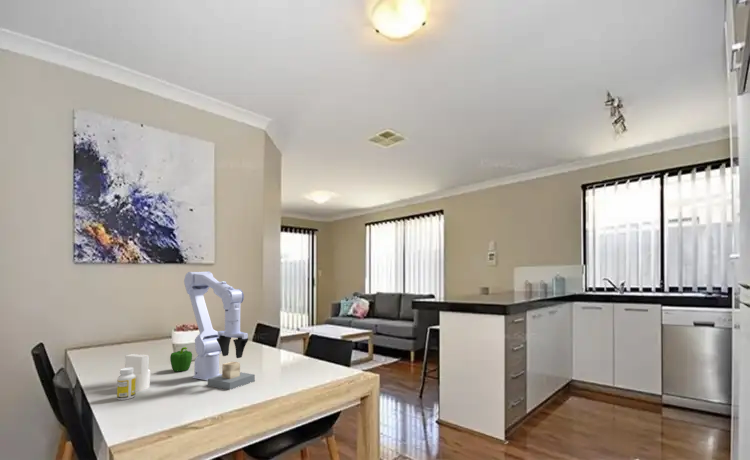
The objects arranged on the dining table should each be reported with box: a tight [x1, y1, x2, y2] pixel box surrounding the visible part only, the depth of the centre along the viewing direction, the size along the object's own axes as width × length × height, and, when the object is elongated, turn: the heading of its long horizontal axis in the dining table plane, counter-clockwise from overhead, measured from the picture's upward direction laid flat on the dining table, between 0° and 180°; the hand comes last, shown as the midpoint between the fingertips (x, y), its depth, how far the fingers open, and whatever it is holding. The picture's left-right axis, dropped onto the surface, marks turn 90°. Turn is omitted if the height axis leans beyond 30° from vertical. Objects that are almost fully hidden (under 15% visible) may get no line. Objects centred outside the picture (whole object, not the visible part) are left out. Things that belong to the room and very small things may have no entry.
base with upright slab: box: [124, 353, 151, 393], centre depth 150 cm, size 9×9×12 cm
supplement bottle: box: [116, 367, 136, 401], centre depth 139 cm, size 5×5×10 cm
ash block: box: [221, 361, 241, 379], centre depth 153 cm, size 4×4×5 cm
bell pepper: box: [169, 346, 193, 372], centre depth 174 cm, size 8×8×10 cm
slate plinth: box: [207, 371, 256, 390], centre depth 153 cm, size 12×12×2 cm
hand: (232, 356), depth 154 cm, fingers open, 7 cm apart
